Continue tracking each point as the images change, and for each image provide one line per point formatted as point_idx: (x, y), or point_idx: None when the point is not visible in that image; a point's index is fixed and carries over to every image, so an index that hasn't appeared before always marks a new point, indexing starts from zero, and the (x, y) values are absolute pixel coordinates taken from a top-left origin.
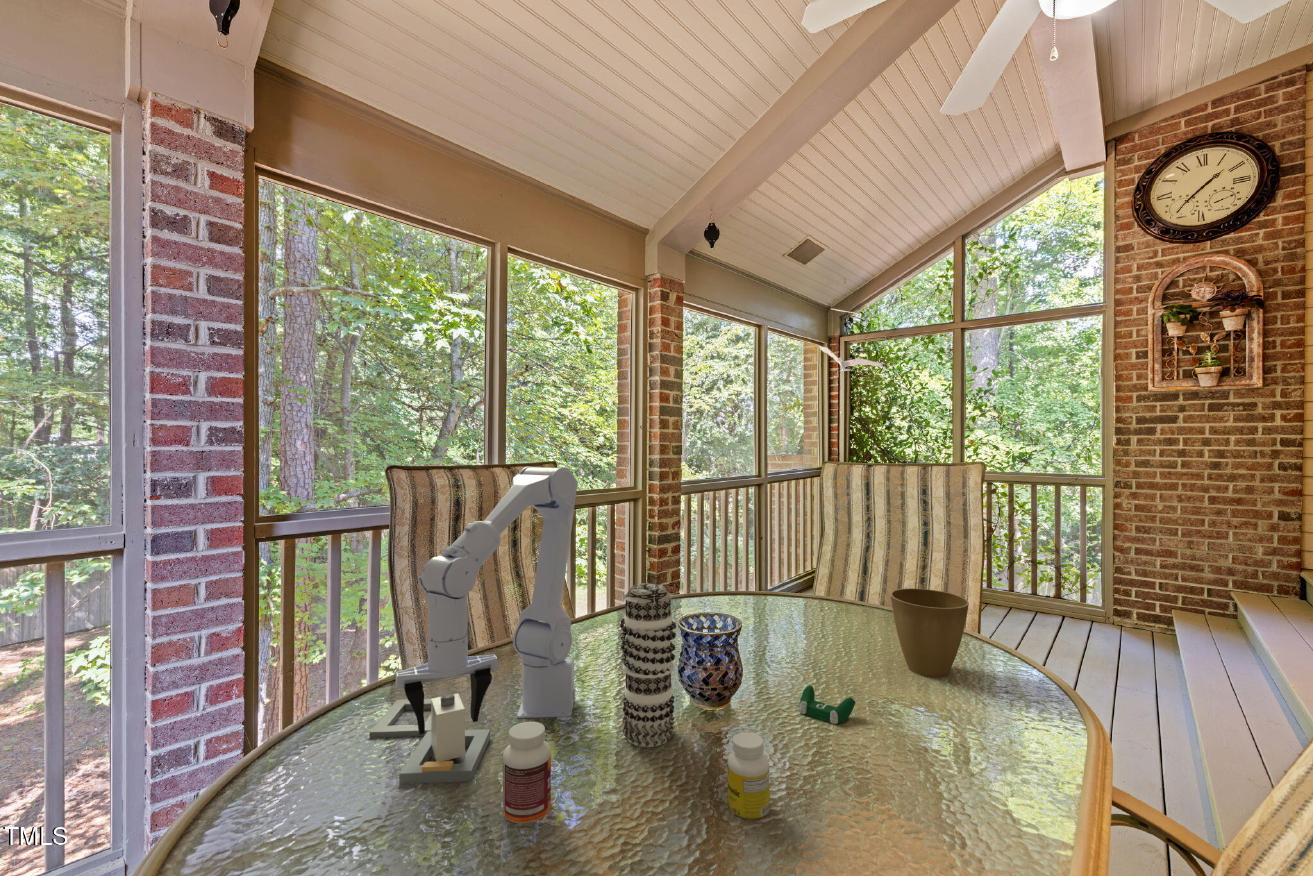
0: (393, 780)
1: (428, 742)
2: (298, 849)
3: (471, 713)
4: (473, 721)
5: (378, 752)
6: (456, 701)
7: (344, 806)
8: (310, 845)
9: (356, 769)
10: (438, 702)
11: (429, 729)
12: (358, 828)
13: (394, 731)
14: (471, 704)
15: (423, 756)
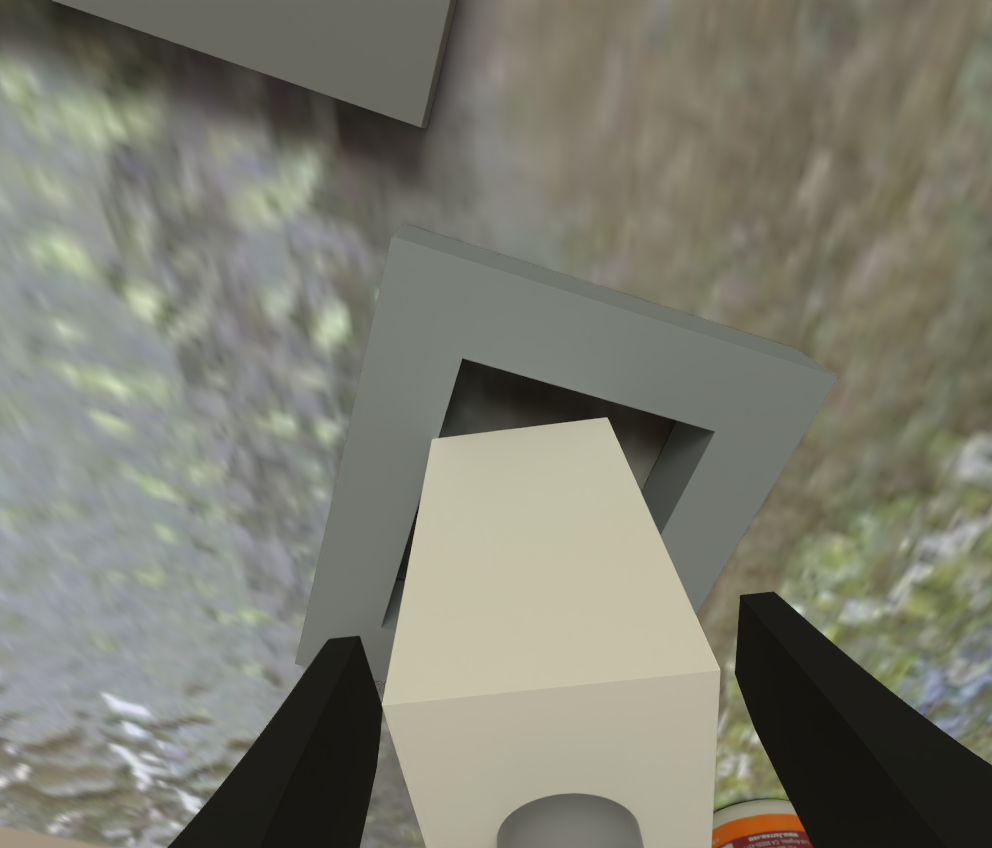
0: (273, 550)
1: (412, 417)
2: (64, 798)
3: (755, 651)
4: (738, 682)
5: (83, 222)
6: (661, 823)
7: (115, 656)
8: (94, 793)
9: (27, 390)
10: (473, 795)
11: (402, 104)
12: (223, 768)
13: (95, 14)
14: (796, 695)
15: (397, 561)
